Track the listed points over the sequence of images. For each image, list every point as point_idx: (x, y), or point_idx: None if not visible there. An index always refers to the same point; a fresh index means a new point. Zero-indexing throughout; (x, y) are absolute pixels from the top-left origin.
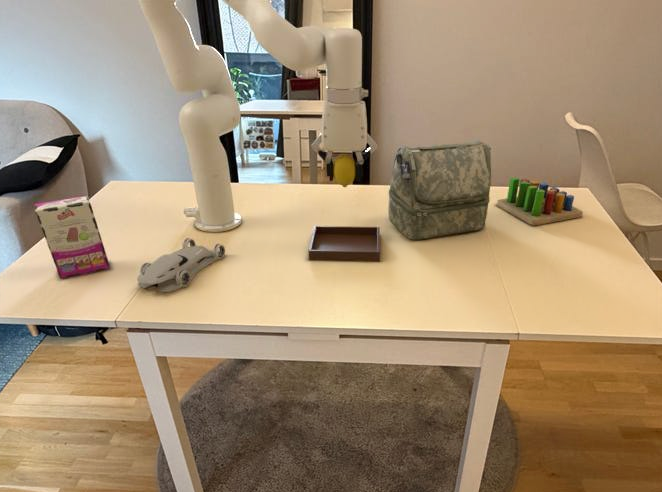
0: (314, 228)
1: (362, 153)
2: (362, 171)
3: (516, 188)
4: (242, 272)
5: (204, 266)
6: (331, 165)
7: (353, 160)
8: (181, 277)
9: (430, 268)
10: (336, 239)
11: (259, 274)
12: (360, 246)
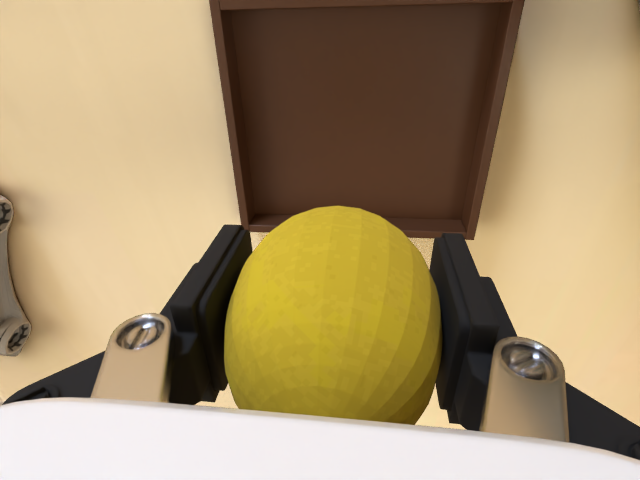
0: (216, 33)
1: (564, 418)
2: (495, 290)
3: None
4: (106, 275)
5: (7, 264)
6: (218, 388)
7: (420, 415)
8: (11, 353)
9: (620, 262)
10: (319, 67)
11: (149, 284)
12: (413, 130)
